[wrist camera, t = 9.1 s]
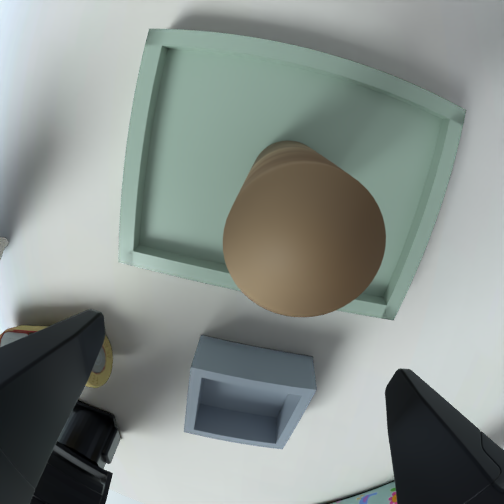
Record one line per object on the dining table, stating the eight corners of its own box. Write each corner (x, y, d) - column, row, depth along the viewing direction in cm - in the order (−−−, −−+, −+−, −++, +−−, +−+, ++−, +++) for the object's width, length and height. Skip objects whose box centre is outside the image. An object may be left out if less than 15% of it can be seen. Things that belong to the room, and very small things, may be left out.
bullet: (99, 315, 23) (70, 353, 18) (120, 361, 25) (98, 400, 20) (4, 313, 24) (-23, 339, 20) (23, 350, 26) (1, 378, 22)
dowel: (244, 203, 17) (211, 300, 8) (259, 133, 16) (240, 145, 7) (314, 219, 17) (353, 327, 8) (332, 150, 16) (406, 190, 7)
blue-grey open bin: (191, 402, 26) (183, 431, 23) (201, 335, 22) (190, 367, 19) (282, 419, 26) (282, 449, 23) (312, 356, 23) (316, 389, 19)
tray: (131, 249, 20) (118, 262, 18) (161, 36, 14) (149, 28, 13) (385, 304, 20) (393, 320, 19) (449, 109, 15) (466, 110, 13)
